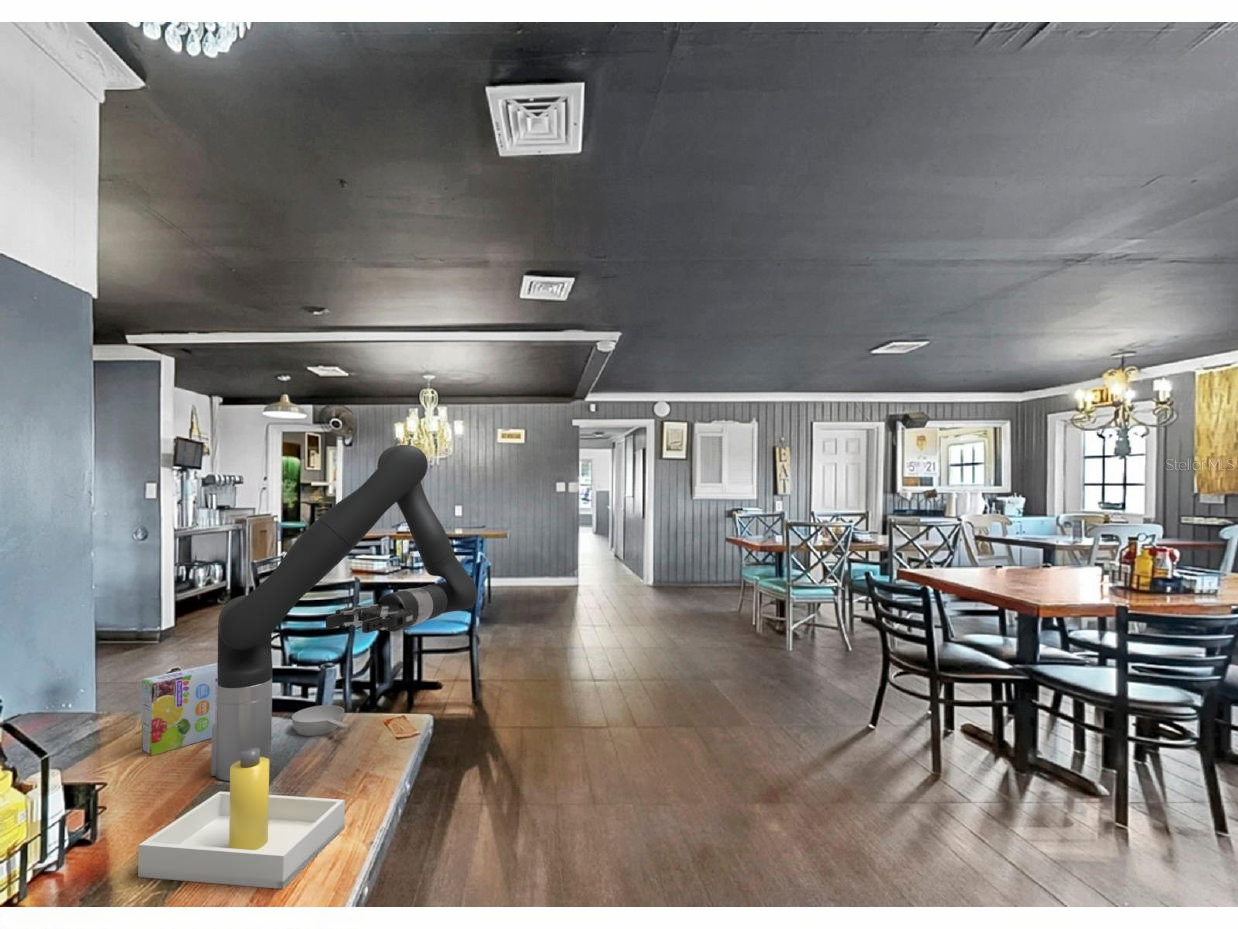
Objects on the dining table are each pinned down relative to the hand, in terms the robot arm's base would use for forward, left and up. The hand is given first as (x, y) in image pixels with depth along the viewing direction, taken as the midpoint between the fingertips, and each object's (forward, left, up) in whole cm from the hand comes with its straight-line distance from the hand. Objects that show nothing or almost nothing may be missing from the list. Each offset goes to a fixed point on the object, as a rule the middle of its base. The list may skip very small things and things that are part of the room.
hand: (345, 625), depth 119 cm
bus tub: (-5, -19, -30) cm, 36 cm away
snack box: (-44, +20, -30) cm, 57 cm away
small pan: (-19, +26, -30) cm, 44 cm away
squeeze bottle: (-5, -19, -29) cm, 35 cm away
